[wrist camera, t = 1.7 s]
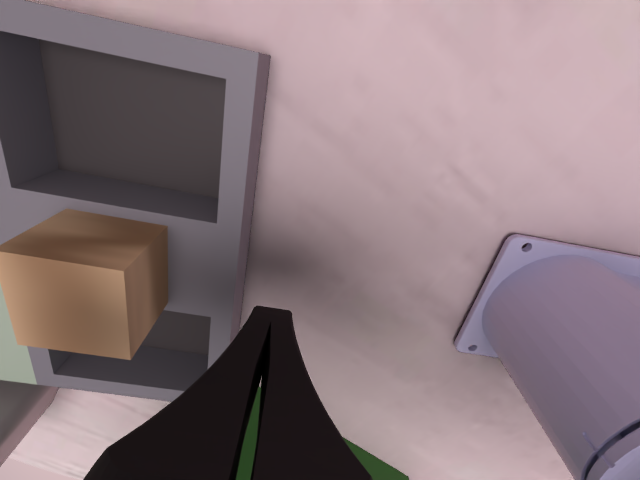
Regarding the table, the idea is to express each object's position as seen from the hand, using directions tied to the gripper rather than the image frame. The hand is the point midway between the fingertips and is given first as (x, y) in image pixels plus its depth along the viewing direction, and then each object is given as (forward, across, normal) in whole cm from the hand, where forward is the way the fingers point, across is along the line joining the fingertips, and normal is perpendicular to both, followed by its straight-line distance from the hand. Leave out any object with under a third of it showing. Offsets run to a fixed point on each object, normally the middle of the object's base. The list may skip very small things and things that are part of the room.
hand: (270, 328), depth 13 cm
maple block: (+3, +7, 0) cm, 8 cm away
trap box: (+6, +10, 0) cm, 12 cm away
